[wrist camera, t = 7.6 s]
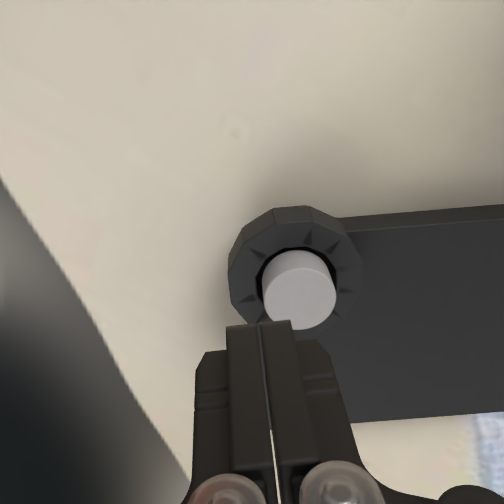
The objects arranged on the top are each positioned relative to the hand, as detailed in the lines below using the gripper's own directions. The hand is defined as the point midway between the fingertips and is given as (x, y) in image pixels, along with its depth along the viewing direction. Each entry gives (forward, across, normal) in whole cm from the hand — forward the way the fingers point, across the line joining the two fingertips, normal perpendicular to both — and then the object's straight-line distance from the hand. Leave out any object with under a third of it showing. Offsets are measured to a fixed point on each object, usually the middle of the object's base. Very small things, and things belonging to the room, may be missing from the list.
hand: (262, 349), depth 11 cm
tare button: (+9, +2, -5) cm, 10 cm away
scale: (+11, +7, -10) cm, 16 cm away
